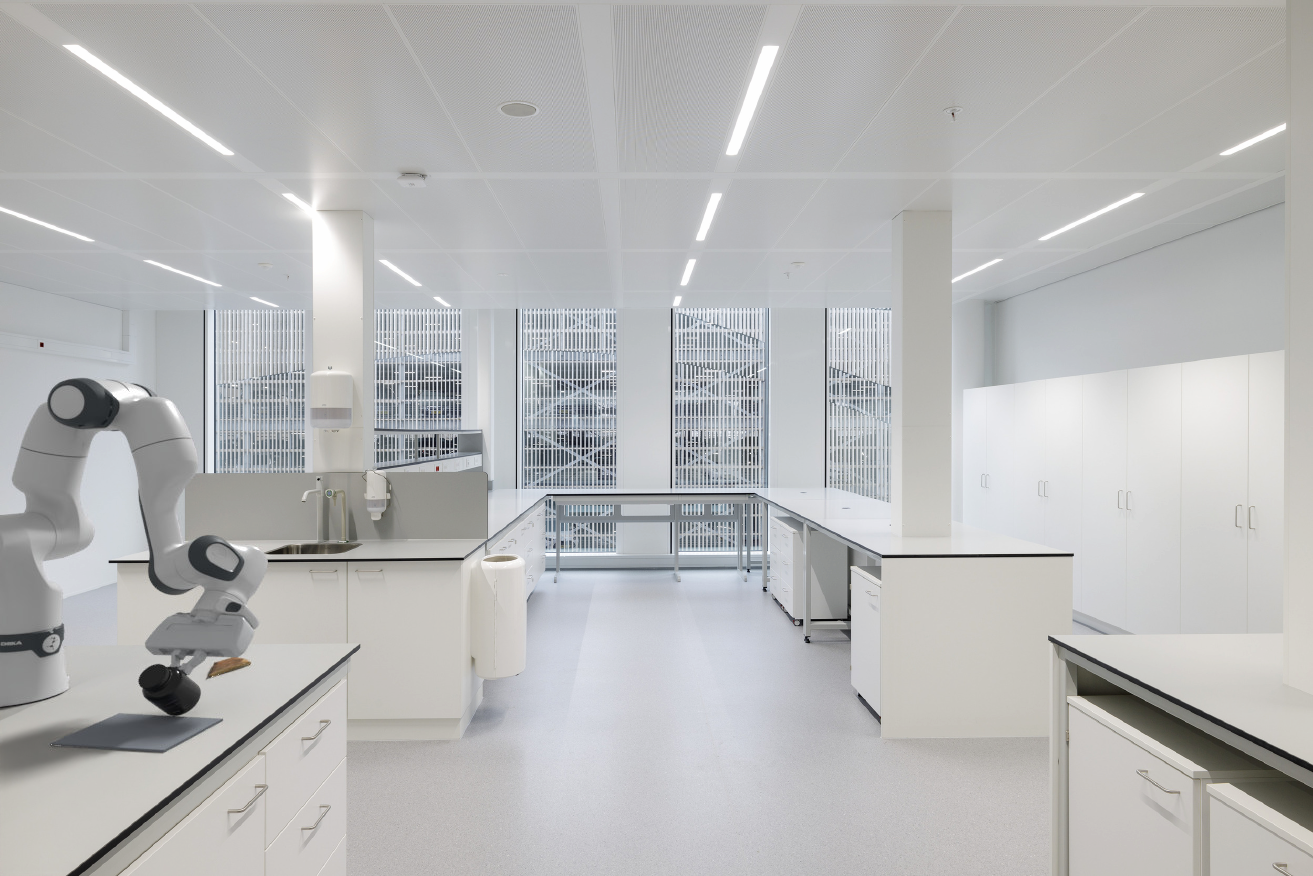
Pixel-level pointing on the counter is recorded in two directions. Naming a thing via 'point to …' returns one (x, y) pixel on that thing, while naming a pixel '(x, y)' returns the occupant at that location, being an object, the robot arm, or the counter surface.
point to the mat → (138, 732)
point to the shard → (228, 665)
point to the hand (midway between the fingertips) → (177, 673)
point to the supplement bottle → (169, 689)
